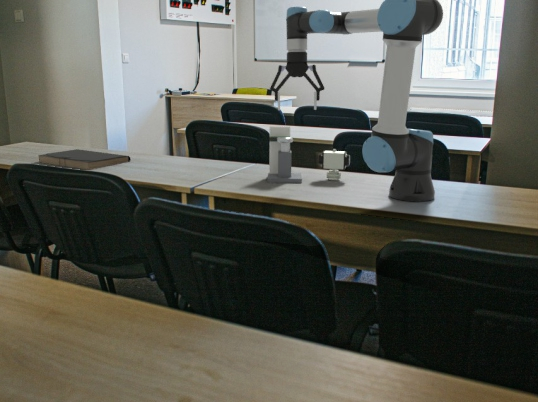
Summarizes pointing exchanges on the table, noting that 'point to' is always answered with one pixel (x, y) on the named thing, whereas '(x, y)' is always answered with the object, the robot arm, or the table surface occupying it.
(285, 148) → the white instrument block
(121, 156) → the brown book
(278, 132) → the stand
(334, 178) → the pneumatic valve
